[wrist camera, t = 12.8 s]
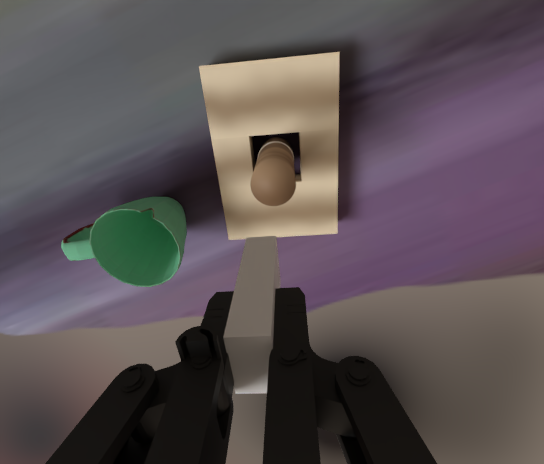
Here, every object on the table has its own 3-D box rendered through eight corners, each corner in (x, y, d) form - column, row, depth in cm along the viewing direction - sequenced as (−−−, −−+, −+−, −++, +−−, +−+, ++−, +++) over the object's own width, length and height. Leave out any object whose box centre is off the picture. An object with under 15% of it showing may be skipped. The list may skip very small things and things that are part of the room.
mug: (193, 174, 39) (165, 203, 30) (210, 240, 43) (190, 283, 34) (86, 187, 40) (29, 218, 31) (113, 250, 45) (70, 293, 36)
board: (205, 66, 33) (198, 66, 31) (335, 53, 32) (339, 51, 30) (232, 229, 42) (228, 239, 40) (334, 223, 41) (337, 233, 39)
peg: (257, 137, 37) (246, 163, 26) (292, 134, 36) (295, 159, 26) (261, 171, 38) (252, 208, 28) (294, 168, 38) (297, 205, 27)
